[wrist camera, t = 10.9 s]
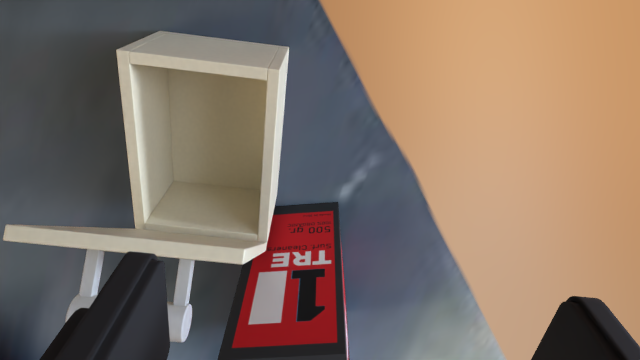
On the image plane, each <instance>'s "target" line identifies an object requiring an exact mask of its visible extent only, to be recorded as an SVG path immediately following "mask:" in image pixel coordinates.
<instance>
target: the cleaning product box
mask: <svg viewBox="0 0 640 360" xmlns="http://www.w3.org/2000/svg"><path fill="white" fill-rule="evenodd" d="M218 360H350V358H349V342H348V325H347V309H346V297H345V284H344V272H343V259H342V246H341V234H340V221H339V209H338V202H333V203H319V204H305V205H291V206H276V207H274V212H273V217H272V222H271V227H270V232H269V237H268V241H267V246H266V251H265V252H263V253H262V254H260V255H258V256H257V257H255V258H253V259H251V260H250V261H248V262H246V263H245V264H243V267H242V271H241V274H240V278H239V282H238V285H237V289H236V293H235V297H234V300H233V304H232V308H231V312H230V315H229V319H228V323H227V326H226V330H225V334H224V338H223V341H222V345H221V349H220V353H219V356H218Z"/></svg>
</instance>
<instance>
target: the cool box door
mask: <svg viewBox="0 0 640 360" xmlns="http://www.w3.org/2000/svg"><path fill="white" fill-rule="evenodd" d="M3 240H4V241H12V242H22V243H32V244H42V245H52V246H62V247H72V248H82V249H87V252H86V258H85V263H84V269H83V275H82V280H81V286H80V292H79V294H78V295H77V296H75V297H74V299H73V300H72V302H71V303H70V306H69V308H68V311H67V315H66V322H67V321H68V319H69V318H70V316H71V315H72V314H73V313H74V312H75V311H76V310H78V309H79V308H89V307H90V306H91V304H92V303H93V301H94V300H95V298H96V297H97V296H98V295H97V293H98V287H99V281H100V275H101V269H102V264H103V258H104V252H105V251H112V252H121V253H127V252H129V251H133V252H143V253H153V254H155V255H156V256H161V257H171V258H180V259H179V266H178V273H177V280H176V287H175V293H174V300H173V302H167V307H168V321H169V335H170V341H172V342H184V341H185V340H186V338H187V336H188V333H189V330H190V326H191V320H192V306H191V304H189V298H190V291H191V283H192V276H193V269H194V262H195V260H201V261H211V262H221V263H231V264H240V265H243V264H245V263H246V262H248V261H250V260H251V259H253V258H255V257H257V256H258V255H260V254H262V253H263V252H265V251H266V246H267V243H266V242H257V241H247V240H238V239H228V238H218V237H209V236H199V235H190V234H180V233H170V232H161V231H151V230H141V229H126V228H97V227H68V226H39V225H10V224H8V225H6V227H5V232H4V237H3Z"/></svg>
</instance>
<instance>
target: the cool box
mask: <svg viewBox="0 0 640 360" xmlns="http://www.w3.org/2000/svg"><path fill="white" fill-rule="evenodd" d="M116 52H117V62H118V71H119V80H120V90H121V99H122V108H123V118H124V127H125V136H126V145H127V155H128V164H129V173H130V183H131V192H132V201H133V211H134V220H135V229H141V230H151V231H161V232H170V233H180V234H190V235H199V236H209V237H218V238H228V239H238V240H247V241H257V242H266V243H267V241H268V237H269V232H270V227H271V222H272V217H273V212H274V207H275V202H276V197H277V189H278V177H279V165H280V153H281V141H282V129H283V117H284V105H285V92H286V80H287V68H288V56H289V47H285V46H277V45H269V44H261V43H253V42H245V41H237V40H229V39H221V38H213V37H205V36H197V35H189V34H182V33H174V32H166V31H158V32H156V33H154V34H151V35H149V36H147V37H145V38H142V39H140V40H138V41H135V42H133V43H131V44H129V45H126V46H124V47H122V48H120V49H117V50H116Z"/></svg>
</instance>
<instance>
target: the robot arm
mask: <svg viewBox="0 0 640 360" xmlns="http://www.w3.org/2000/svg"><path fill="white" fill-rule="evenodd" d="M169 348H170V335H169V321H168V307H167V293H166V279H165V265H164V262H163V261H157V257H156V255H155V254H153V253H143V252H133V251H129V252H127V253H126V254H125V255H124V257H123V258H122V260H121V261H120V263H119V264H118V266H117V267H116V269H115V270H114V272H113V273H112V275H111V276H110V278H109V279H108V281H107V282H106V284H105V285H104V287H103V288H102V290H101V291H100V293H99V294H98V296H97V297H96V298H95V300H94V301H93V303H92V304H91V306H90V307H89V308H79V309H78V310H76V311H75V312H74V313H73V314H72V315H71V316H70V318H69V319H68V321H67V322H66V323H65V325H64V326H63V328H62V329H61V330H60V332H59V333H58V335H57V336H56V337H55V339H54V340H53V342H52V343H51V344H50V346H49V347H48V349H47V350H46V351H45V353H44V354H43V356H42V357H41V359H40V360H167V357H168V353H169ZM531 360H640V347H639V345H638V344H637V343H636V342H635V340H634V339H633V338H632V337H631V336H630V334H629V333H628V332H627V331H626V329H625V328H624V327H623V326H622V324H621V323H620V322H619V321H618V319H617V318H616V317H615V316H614V315H613V313H612V312H611V311H610V310H609V308H608V307H607V306H606V305H605V304H604V303H603V302H602V301H601V300H599V299H597V298H587V297H577V296H572V297H570V298H569V299H568V300H567V301H566V302H563V303H561V305H560V306H559V308H558V310H557V312H556V314H555V316H554V318H553V319H552V321H551V323H550V325H549V327H548V329H547V331H546V333H545V334H544V336H543V338H542V340H541V342H540V344H539V346H538V348H537V350H536V351H535V354H534V355H533V357H532V359H531Z"/></svg>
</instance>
